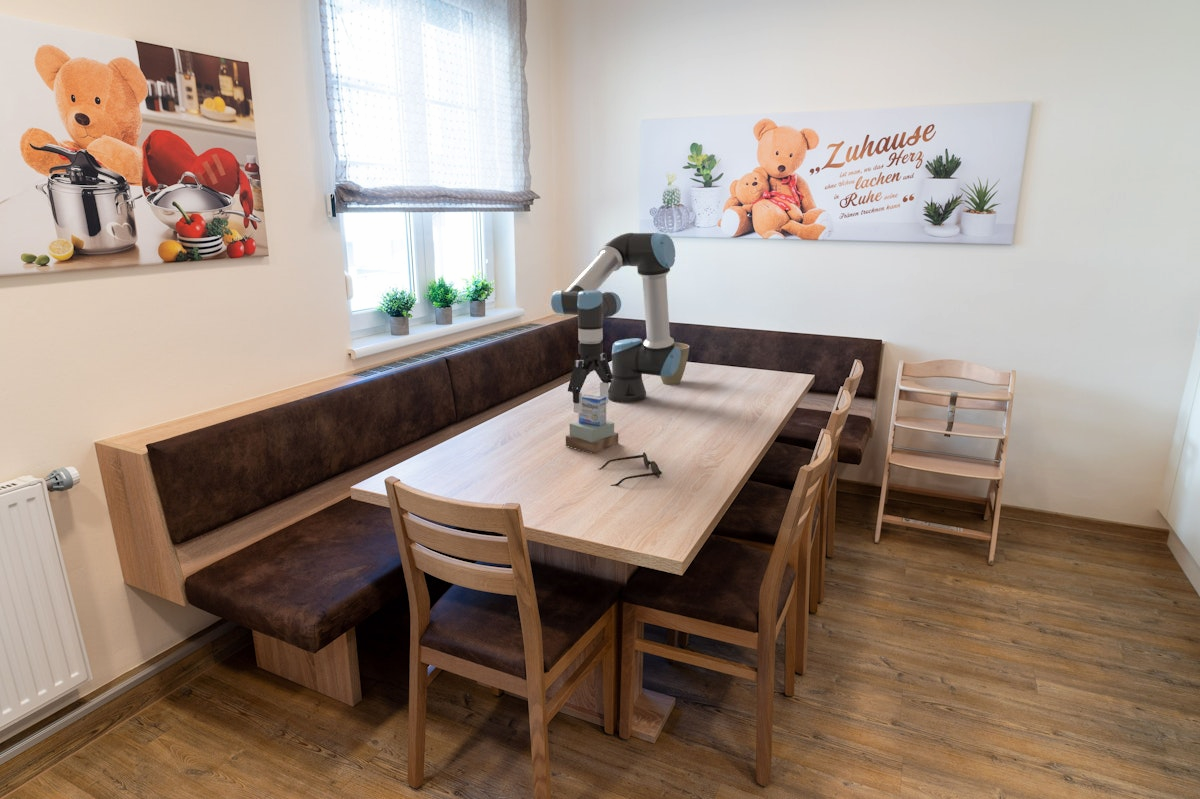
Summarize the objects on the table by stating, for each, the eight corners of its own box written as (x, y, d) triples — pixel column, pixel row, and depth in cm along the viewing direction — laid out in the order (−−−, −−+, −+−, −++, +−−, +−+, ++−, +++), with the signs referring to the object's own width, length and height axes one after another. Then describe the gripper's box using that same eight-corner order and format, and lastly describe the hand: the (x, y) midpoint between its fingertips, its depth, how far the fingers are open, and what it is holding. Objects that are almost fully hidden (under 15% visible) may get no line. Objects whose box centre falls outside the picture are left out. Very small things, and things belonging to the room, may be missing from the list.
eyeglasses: (661, 482, 201) (662, 465, 200) (611, 488, 197) (611, 471, 196) (643, 464, 215) (643, 448, 213) (596, 469, 211) (595, 453, 209)
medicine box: (578, 423, 228) (577, 396, 226) (585, 419, 232) (584, 393, 229) (600, 426, 224) (599, 399, 222) (606, 422, 228) (606, 396, 226)
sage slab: (591, 428, 236) (591, 416, 235) (614, 434, 229) (614, 422, 228) (569, 435, 229) (569, 423, 228) (592, 442, 222) (592, 430, 221)
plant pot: (664, 376, 315) (665, 341, 311) (694, 381, 307) (695, 344, 303) (646, 384, 304) (647, 347, 299) (677, 389, 295) (678, 351, 291)
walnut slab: (588, 438, 239) (588, 426, 237) (618, 445, 232) (618, 433, 231) (565, 448, 229) (565, 436, 228) (595, 455, 222) (595, 443, 221)
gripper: (604, 333, 233) (605, 396, 239) (555, 346, 214) (556, 415, 220) (623, 336, 229) (623, 400, 235) (574, 349, 210) (576, 419, 216)
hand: (591, 407), depth 227 cm, fingers open, 13 cm apart
